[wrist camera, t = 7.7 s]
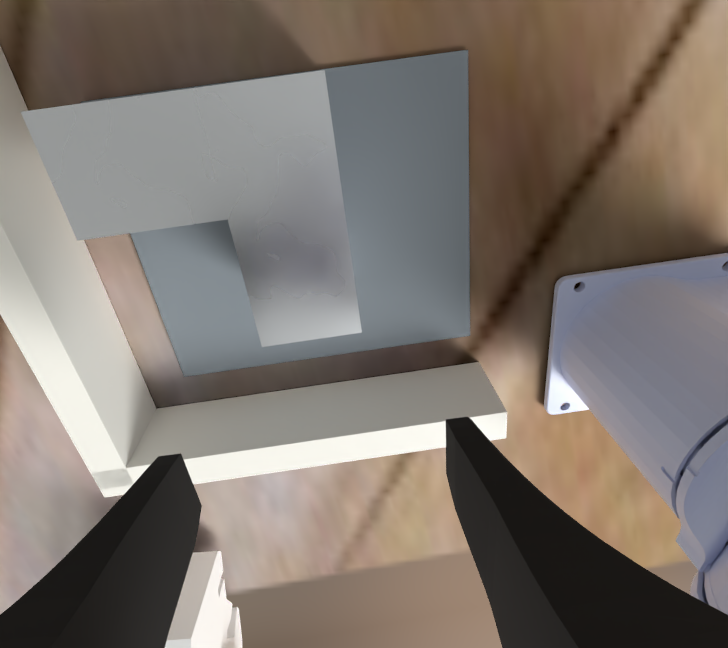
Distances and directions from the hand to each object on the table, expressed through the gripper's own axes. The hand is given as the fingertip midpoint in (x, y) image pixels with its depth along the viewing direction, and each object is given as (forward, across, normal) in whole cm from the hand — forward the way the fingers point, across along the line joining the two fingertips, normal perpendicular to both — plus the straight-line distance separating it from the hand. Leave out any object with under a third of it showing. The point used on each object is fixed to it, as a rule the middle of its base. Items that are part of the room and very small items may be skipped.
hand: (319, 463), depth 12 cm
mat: (+10, 0, -4) cm, 10 cm away
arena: (+10, +2, -3) cm, 10 cm away
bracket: (+9, +2, -5) cm, 11 cm away
